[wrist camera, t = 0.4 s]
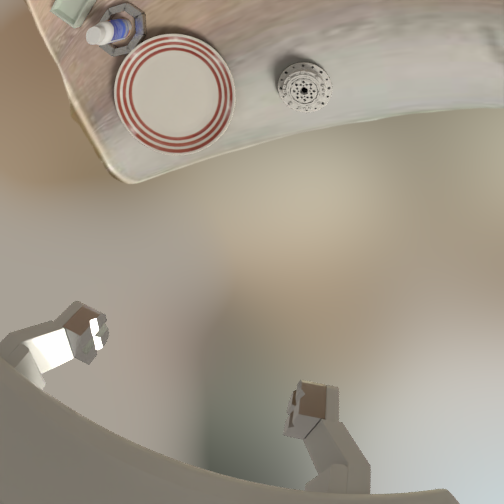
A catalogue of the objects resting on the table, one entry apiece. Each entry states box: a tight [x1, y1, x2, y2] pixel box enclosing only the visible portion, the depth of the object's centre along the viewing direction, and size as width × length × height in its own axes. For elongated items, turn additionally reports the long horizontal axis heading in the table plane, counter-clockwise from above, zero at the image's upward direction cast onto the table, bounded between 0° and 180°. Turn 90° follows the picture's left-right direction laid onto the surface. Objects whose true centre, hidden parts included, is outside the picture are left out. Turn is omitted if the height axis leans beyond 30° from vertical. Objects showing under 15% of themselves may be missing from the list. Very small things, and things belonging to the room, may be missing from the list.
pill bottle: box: [86, 18, 132, 45], centre depth 39 cm, size 5×5×10 cm
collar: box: [99, 3, 147, 57], centre depth 42 cm, size 12×12×1 cm
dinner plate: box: [114, 34, 236, 155], centre depth 51 cm, size 28×27×3 cm
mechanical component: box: [278, 62, 332, 113], centre depth 46 cm, size 10×4×10 cm
